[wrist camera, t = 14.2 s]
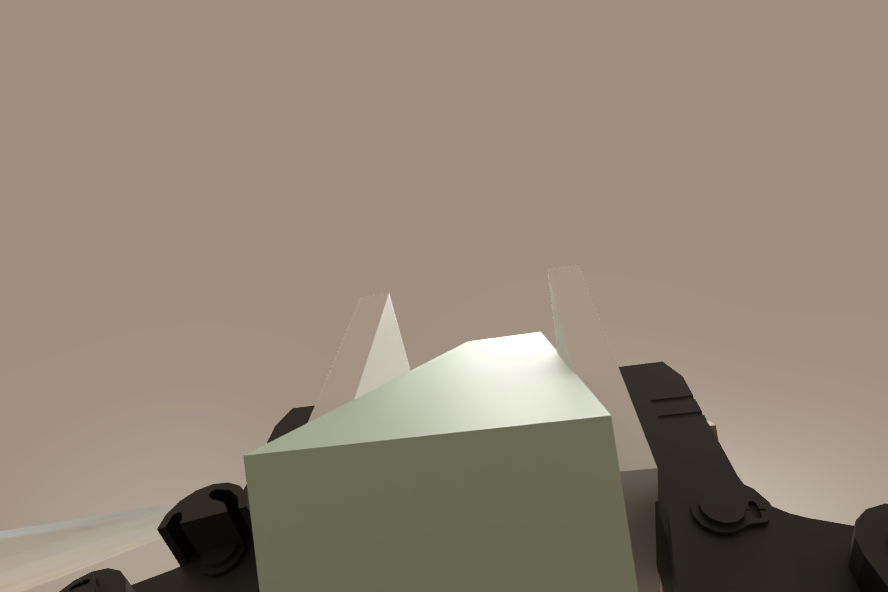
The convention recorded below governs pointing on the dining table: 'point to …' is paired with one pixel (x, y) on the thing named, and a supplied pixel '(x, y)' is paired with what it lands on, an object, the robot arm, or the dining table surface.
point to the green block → (449, 484)
